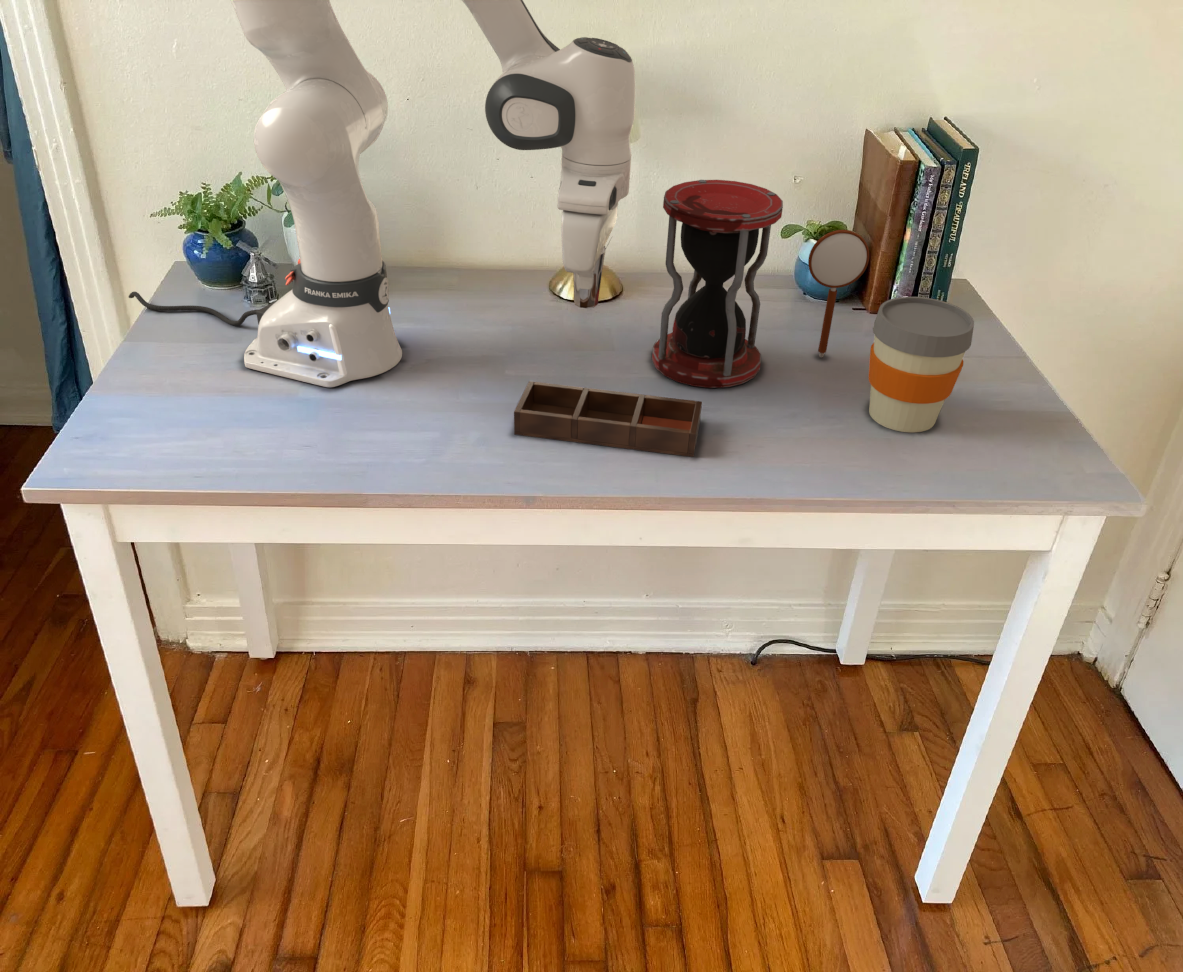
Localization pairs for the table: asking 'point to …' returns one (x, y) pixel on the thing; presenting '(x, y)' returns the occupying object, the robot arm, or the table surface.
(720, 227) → the hourglass
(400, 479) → the table surface
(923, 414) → the reusable coffee cup
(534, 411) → the compartment tray
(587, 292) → the milkshake
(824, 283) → the magnifying glass
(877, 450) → the table surface
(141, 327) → the table surface
